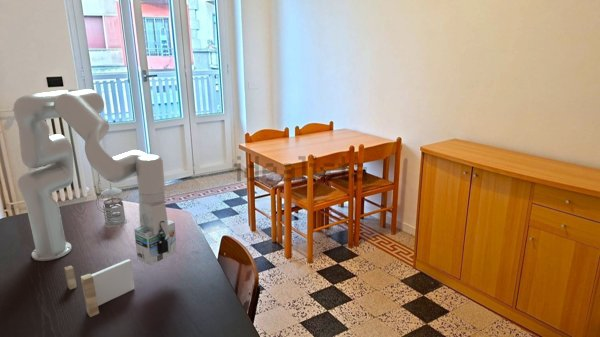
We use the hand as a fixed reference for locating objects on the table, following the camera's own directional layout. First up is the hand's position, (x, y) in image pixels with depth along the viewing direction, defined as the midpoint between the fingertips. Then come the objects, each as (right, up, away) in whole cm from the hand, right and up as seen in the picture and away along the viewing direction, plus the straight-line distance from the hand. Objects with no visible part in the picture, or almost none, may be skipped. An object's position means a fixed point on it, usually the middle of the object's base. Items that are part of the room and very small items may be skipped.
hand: (156, 247), depth 132 cm
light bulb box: (0, -3, +1) cm, 3 cm away
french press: (-33, +2, +45) cm, 56 cm away
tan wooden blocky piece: (-20, -15, -6) cm, 26 cm away
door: (-12, -14, -6) cm, 19 cm away
